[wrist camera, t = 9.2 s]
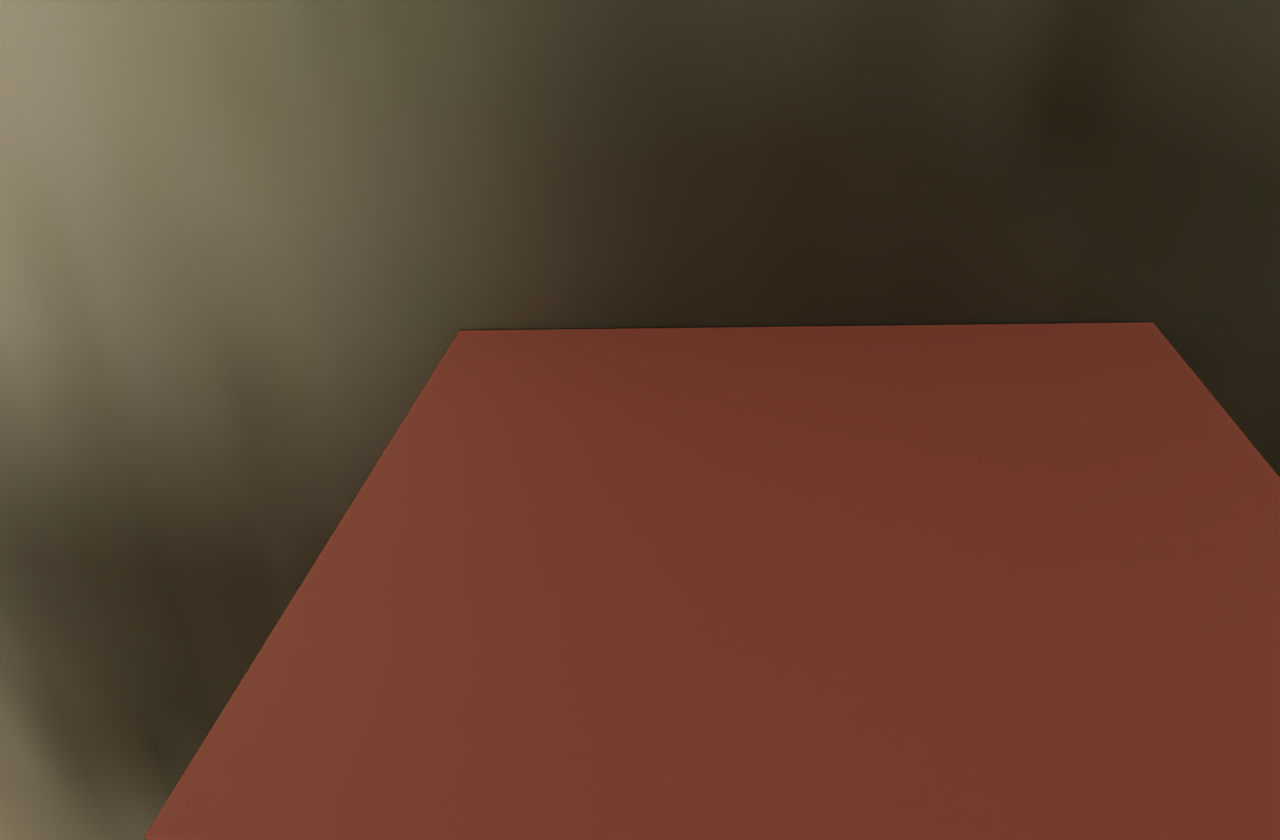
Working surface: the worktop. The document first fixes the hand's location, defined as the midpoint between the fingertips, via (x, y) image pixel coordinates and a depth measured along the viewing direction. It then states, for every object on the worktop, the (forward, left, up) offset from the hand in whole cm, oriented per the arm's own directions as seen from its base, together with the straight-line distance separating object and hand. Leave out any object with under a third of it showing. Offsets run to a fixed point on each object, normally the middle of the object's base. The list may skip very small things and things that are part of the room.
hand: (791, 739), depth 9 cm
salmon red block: (0, 0, -1) cm, 1 cm away
